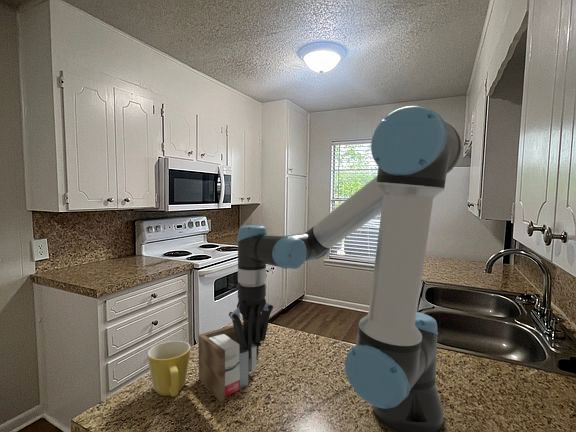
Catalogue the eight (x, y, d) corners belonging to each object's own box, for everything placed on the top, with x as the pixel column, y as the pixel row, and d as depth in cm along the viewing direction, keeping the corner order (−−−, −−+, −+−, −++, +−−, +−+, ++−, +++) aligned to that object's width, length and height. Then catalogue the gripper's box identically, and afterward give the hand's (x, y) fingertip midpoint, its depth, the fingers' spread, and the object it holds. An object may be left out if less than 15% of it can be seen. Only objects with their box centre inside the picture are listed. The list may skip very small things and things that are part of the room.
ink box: (241, 389, 79) (240, 343, 78) (223, 397, 76) (222, 349, 75) (224, 375, 86) (223, 332, 85) (207, 382, 82) (206, 337, 82)
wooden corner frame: (280, 379, 86) (281, 332, 85) (220, 406, 74) (220, 352, 74) (255, 361, 95) (255, 319, 94) (198, 383, 84) (198, 334, 83)
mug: (150, 381, 84) (150, 342, 84) (190, 375, 87) (190, 338, 87) (142, 414, 71) (142, 369, 71) (190, 406, 74) (190, 363, 74)
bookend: (248, 385, 81) (248, 350, 81) (239, 388, 79) (240, 353, 79) (232, 372, 87) (232, 340, 87) (224, 375, 86) (224, 342, 85)
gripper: (263, 276, 92) (263, 356, 93) (223, 284, 84) (223, 370, 85) (279, 282, 86) (278, 366, 88) (237, 290, 78) (237, 383, 79)
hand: (251, 368), depth 86 cm, fingers closed
